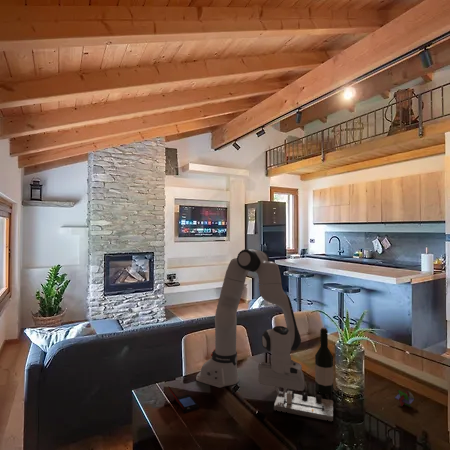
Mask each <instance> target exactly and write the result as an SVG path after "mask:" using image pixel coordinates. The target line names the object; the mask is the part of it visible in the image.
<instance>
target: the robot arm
mask: <svg viewBox="0 0 450 450" xmlns="http://www.w3.org/2000/svg"><path fill="white" fill-rule="evenodd" d="M279 268H280V267H279V265H278V263H276V262H274V261H271V260H270V256H269V255H268V254H267V253H266V252H265V251H263V250H259V249H255V248H254V249H252V248H244V249H242V250H241V251H239V252H238V254H237V257H234V258H233V259H231V260H230V262H229V263H228V266H227V268H226V271H225V273H224V274H225V276H224V278H223V282H222V286H221V290H220V294H219V299H218V301H217V306H216V310H215V315H214V330H215V331H214V332H215V333H214V337H215V338H214V339H215V340H214V341H215V342H214V343H215V345H214V346H215V348H214V349H213V351H212V352H211V354H210V357H211V358H209V359H208V360H207V361H205V363H203V365H202V366H201V368H200V371H199V372H198V373H197V375H196V376H195V377H196V378H195V381H196V382H200V383H202V384H206V385H209V386H213V387H217V388H223V387H228V386H233V385H235V384H238V383H239V382H240V377H239V372H238V365H237V364H238V352H237V327H238V326H237V323H238V322H237V321H238V320H237V318H238V317H237V313H238V309H239V304H240V302H241V298H242V295H243V291H244V288H245V284H246V279H247V275H248V273H249V272H252V273H254V272H255V273H256V274H257V276H258V288H259V289H258V291H259V294H260V297H261V299H263V300H264V301H265V302H267V303H269V304H272V305H275V306H277V307H279V308H280V309H281V310H282V313H283V317H284V321H285V325H286V327H285V326H282V325H275V326H273V328H270V329H267V330H264V331H263V333H262V334H261V345H262V347H263V348H264V349H265V350H266V351H268V352H270V353H271V355H270V356H271V357H270V362H264V361H261V362H259V363H258V366H257V369H258V371H259V372H258V379H257V381H258V383H259V385H264V386H269V387H274V389H275V391H276V393H277V395H278V397H283V398H284V397H285V392H287V391H288V390H293V391H301V392H304V390H305V388H306V383H305V376H304V372H303V371H302V368H303V367H302V364H301V363H299V362H297V361H294V360H293V359H292V355H291V352H292V351H296V350H298V349H299V347H300V346H301V343H302V338H301V334H300V332H299V328H298V326H297V322H296V321H297V320H296V317H295V314H294V308H293V306H292V305H293V304H292V302H291V301H292V300H291V299H290V296H289V295H288V294H286V293H285V290H284V289H283V286H282V277H281V276H282V275H281V271H280V269H279ZM279 388H283V391H280V389H279Z"/></svg>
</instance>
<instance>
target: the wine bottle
mask: <svg viewBox="0 0 450 450" xmlns="http://www.w3.org/2000/svg"><path fill="white" fill-rule="evenodd" d="M328 332H329V331H328V329H327V327H321V329H320V332H319V333H320V334H319V335H320V340H319V343H320V344H319V345H320V347H319V349H318V350H317V351H316V353H315V356H314V357H315V358H314V359H315V360H314V365H315V367H314V369H315V370H314V371H315V372H314V373H315V375H314V377H315V380H314V381H315V383H314V384H315V389H316V390H317V391H318V392H320V393H319V394H321V393H323V394H322V395H324V394H328V395H332V394H333V393H334V355H333V354H332V352H331V351H330V349H329V344H328V341H329V340H328ZM317 391H316V392H317ZM318 392H317V393H318ZM332 392H333V393H332ZM331 393H332V394H331Z"/></svg>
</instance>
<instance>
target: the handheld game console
mask: <svg viewBox="0 0 450 450" xmlns="http://www.w3.org/2000/svg"><path fill="white" fill-rule="evenodd" d="M168 389H169V392H170V393H171V394H172V395H173V398H174V401H175V403H177V405H178V406H179V407H180V410H181V411H182V412H183V414H186V413H190V412H194V411H196V410H199V409H200V404H199V403H198V402H197V401H196V400H195V398H193V396H192V395H191V394H185V395H182V396H177V395H176V394H175V392H174V391H173V390H172V389H171V387H170V386H168Z"/></svg>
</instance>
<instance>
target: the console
mask: <svg viewBox="0 0 450 450" xmlns="http://www.w3.org/2000/svg"><path fill="white" fill-rule="evenodd" d="M288 391H292V404H288V403H287V391H286V392H285V397H284V398H283V397H278V394H277V395H276V399H275V401H274V405H273V411H276V410H277V411H278V412H281V411H282V413H286V412H287V414H293V415H298V416H301V417H308V418H313V419H318V420H323V421H327V420H328V421H327V422H332V421H333V422H334V400H332V399H328V398H327V399H326V398H322V397H323V396H322V394H320V393H318V394H315V397H314V396H308V394H309V393H308V392H307V391H301V394H298V393H295V390H293V389H288Z"/></svg>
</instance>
